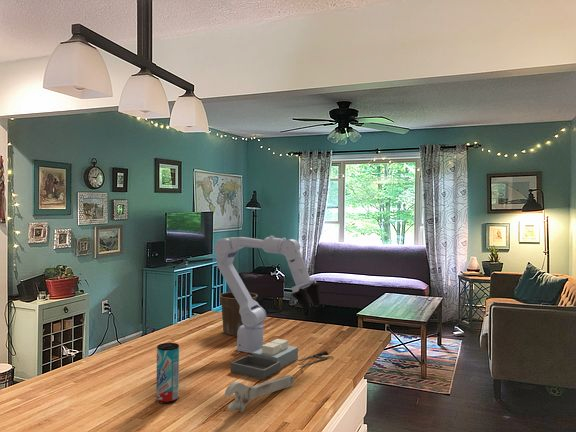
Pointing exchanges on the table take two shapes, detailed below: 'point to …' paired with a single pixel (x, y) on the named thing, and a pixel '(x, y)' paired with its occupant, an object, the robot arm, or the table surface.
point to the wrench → (254, 391)
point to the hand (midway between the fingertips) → (312, 307)
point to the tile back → (281, 343)
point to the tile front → (271, 348)
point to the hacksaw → (316, 360)
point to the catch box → (255, 367)
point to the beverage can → (167, 372)
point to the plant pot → (231, 312)
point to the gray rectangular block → (280, 355)
